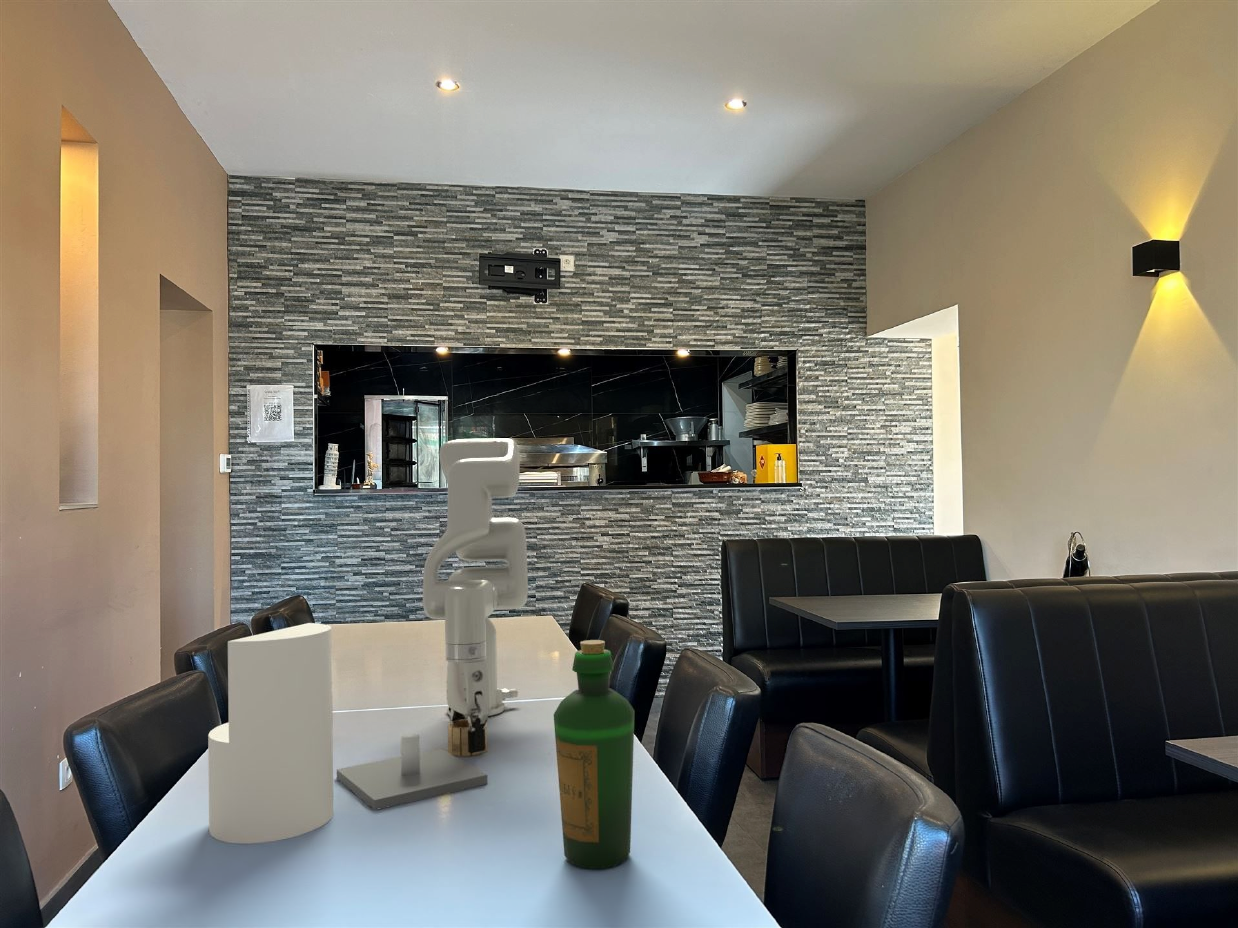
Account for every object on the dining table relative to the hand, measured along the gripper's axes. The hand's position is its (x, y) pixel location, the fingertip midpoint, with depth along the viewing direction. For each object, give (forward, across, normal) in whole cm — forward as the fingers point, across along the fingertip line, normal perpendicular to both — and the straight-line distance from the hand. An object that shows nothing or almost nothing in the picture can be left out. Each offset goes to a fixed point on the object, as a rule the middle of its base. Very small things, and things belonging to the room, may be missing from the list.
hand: (467, 746), depth 164 cm
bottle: (+1, -55, +7) cm, 55 cm away
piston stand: (+1, -10, +15) cm, 18 cm away
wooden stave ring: (+1, 0, 0) cm, 1 cm away
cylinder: (+1, -14, +38) cm, 41 cm away
